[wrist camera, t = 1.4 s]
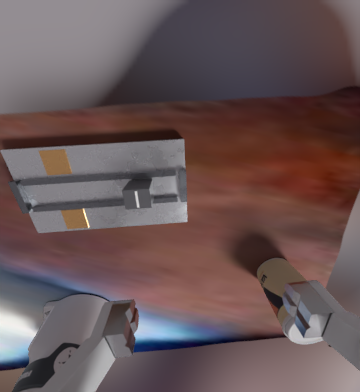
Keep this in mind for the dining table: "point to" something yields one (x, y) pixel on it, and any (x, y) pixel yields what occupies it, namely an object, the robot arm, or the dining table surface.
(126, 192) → the fader knob
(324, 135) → the dining table surface
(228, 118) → the dining table surface
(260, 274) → the coffee cup
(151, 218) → the console
